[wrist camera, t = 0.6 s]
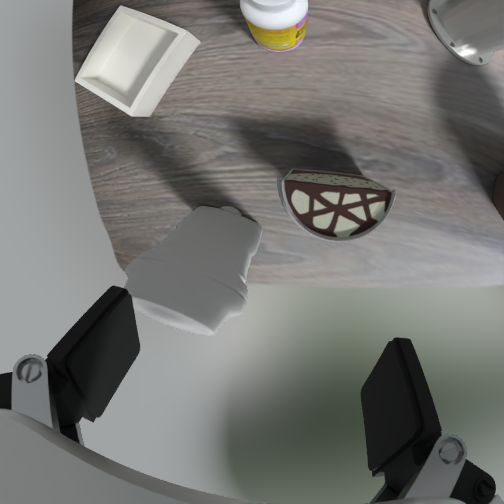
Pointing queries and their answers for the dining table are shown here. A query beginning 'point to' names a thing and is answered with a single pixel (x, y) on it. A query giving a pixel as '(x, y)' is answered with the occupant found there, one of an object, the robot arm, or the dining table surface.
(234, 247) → the tall pale column
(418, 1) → the dining table surface
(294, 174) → the food container
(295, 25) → the supplement bottle
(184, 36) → the box
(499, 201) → the plant pot
